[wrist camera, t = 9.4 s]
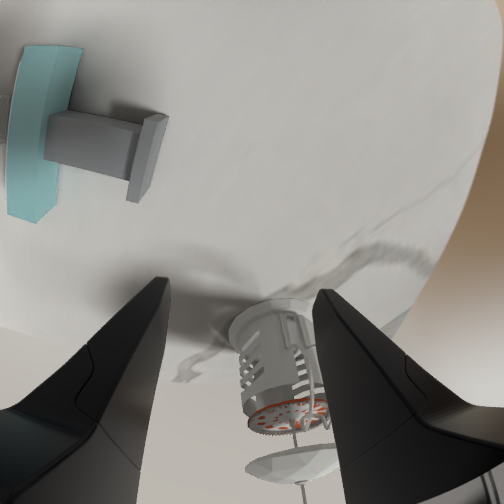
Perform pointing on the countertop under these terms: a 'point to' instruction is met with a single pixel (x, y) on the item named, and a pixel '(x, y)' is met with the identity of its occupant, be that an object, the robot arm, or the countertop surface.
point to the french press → (282, 388)
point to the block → (4, 116)
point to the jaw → (68, 136)
